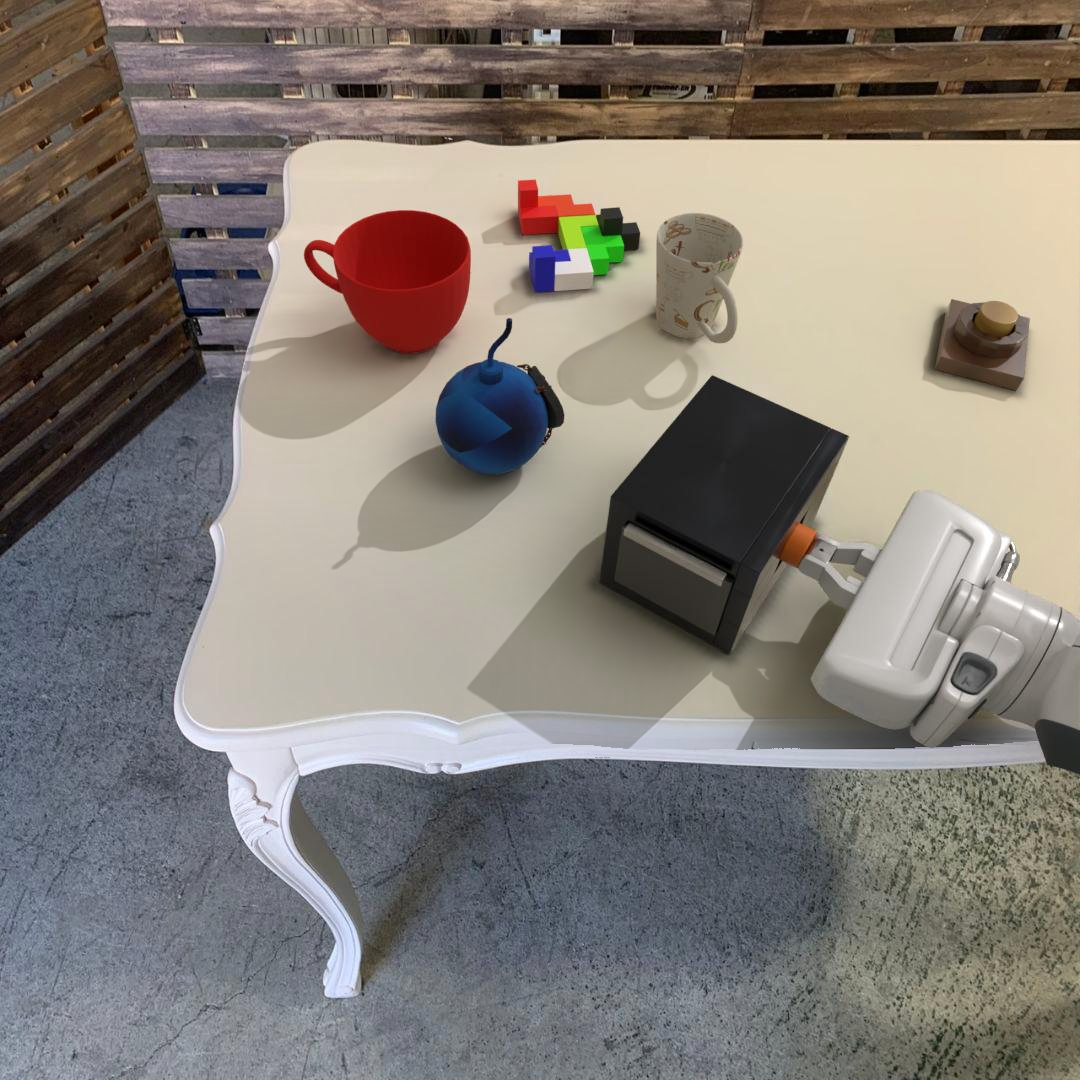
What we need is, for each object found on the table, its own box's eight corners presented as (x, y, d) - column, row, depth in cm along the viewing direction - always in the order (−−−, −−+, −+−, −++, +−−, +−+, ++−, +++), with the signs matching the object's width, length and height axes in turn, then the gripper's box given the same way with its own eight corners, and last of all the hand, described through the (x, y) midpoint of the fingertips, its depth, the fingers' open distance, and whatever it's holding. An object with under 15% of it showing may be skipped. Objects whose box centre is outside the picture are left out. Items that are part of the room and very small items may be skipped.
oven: (812, 524, 78) (849, 435, 70) (722, 666, 69) (752, 585, 61) (691, 465, 82) (712, 374, 73) (591, 592, 73) (601, 506, 65)
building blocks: (650, 284, 98) (655, 250, 95) (534, 292, 97) (534, 258, 94) (623, 207, 107) (627, 174, 104) (516, 214, 106) (517, 180, 103)
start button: (1011, 320, 91) (1019, 305, 90) (1009, 341, 89) (1017, 327, 88) (975, 311, 92) (982, 297, 91) (972, 332, 90) (979, 318, 88)
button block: (1022, 330, 95) (1038, 303, 92) (1016, 390, 89) (1032, 364, 86) (945, 311, 97) (958, 284, 94) (934, 369, 91) (947, 342, 88)
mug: (696, 287, 98) (713, 204, 90) (762, 357, 91) (786, 274, 84) (630, 307, 96) (641, 224, 88) (693, 380, 89) (711, 298, 81)
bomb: (575, 471, 81) (586, 342, 69) (465, 511, 78) (456, 382, 66) (528, 403, 87) (530, 271, 75) (423, 437, 84) (408, 306, 72)
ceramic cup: (342, 277, 98) (327, 193, 90) (490, 306, 95) (488, 222, 88) (291, 352, 90) (269, 268, 82) (450, 386, 88) (443, 302, 80)
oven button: (810, 549, 71) (821, 524, 68) (793, 576, 69) (804, 551, 67) (781, 534, 72) (791, 509, 69) (764, 561, 70) (773, 536, 68)
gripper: (1045, 520, 67) (870, 442, 72) (958, 726, 57) (759, 620, 61) (1008, 569, 72) (847, 493, 77) (922, 767, 62) (740, 666, 66)
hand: (807, 551), depth 69 cm, fingers closed, pressing on oven button
